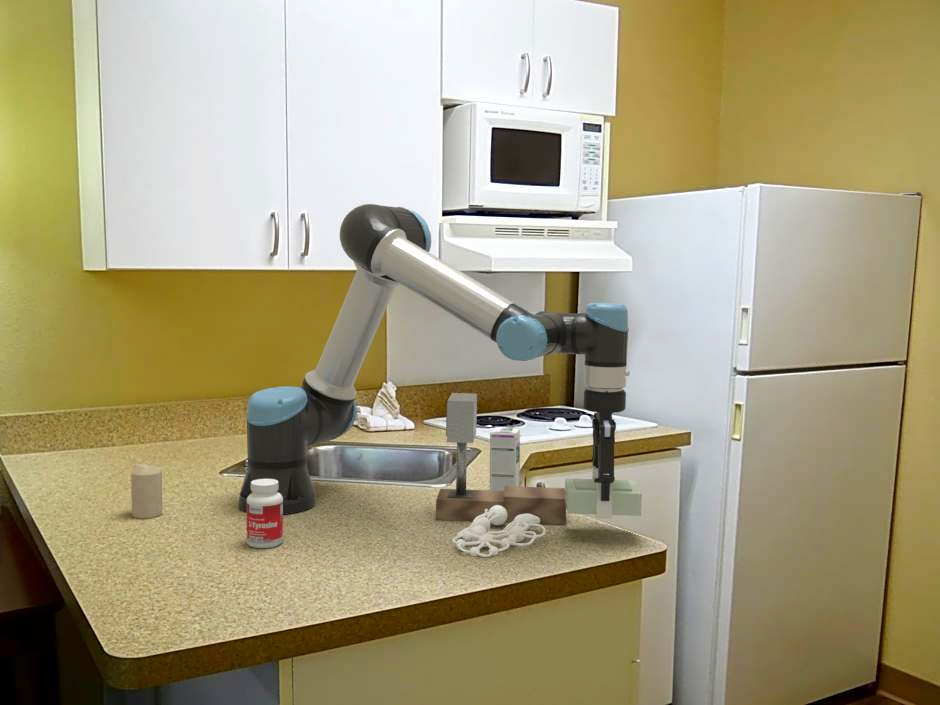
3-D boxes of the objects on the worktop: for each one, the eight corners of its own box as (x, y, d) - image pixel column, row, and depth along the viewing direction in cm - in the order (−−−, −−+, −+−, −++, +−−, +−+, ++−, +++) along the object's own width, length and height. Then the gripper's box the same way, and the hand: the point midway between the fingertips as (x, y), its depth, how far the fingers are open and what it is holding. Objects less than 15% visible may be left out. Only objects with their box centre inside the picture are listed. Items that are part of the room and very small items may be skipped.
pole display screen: (449, 486, 171) (450, 392, 169) (475, 487, 171) (477, 393, 169) (444, 500, 161) (446, 400, 159) (472, 501, 161) (473, 401, 159)
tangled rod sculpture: (504, 573, 139) (506, 549, 138) (432, 549, 146) (433, 527, 145) (555, 538, 155) (558, 517, 155) (488, 519, 163) (490, 498, 162)
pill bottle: (243, 549, 144) (243, 486, 143) (249, 538, 150) (249, 477, 149) (280, 549, 144) (280, 486, 143) (285, 537, 150) (285, 477, 149)
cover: (567, 513, 150) (567, 489, 149) (564, 499, 159) (565, 476, 159) (640, 515, 149) (641, 491, 149) (634, 501, 158) (635, 478, 158)
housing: (435, 519, 163) (436, 494, 162) (440, 507, 171) (440, 483, 170) (565, 524, 161) (566, 499, 161) (563, 512, 169) (564, 488, 168)
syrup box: (515, 500, 178) (517, 432, 176) (488, 498, 179) (489, 430, 177) (519, 493, 183) (521, 427, 182) (493, 491, 184) (494, 425, 183)
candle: (168, 512, 164) (167, 462, 163) (149, 520, 159) (148, 468, 158) (145, 509, 166) (144, 459, 165) (125, 517, 161) (124, 465, 160)
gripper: (633, 398, 141) (629, 528, 143) (619, 381, 163) (615, 494, 165) (588, 397, 141) (584, 527, 143) (580, 380, 163) (577, 493, 165)
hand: (601, 509), depth 154 cm, fingers closed on cover, 9 cm apart
